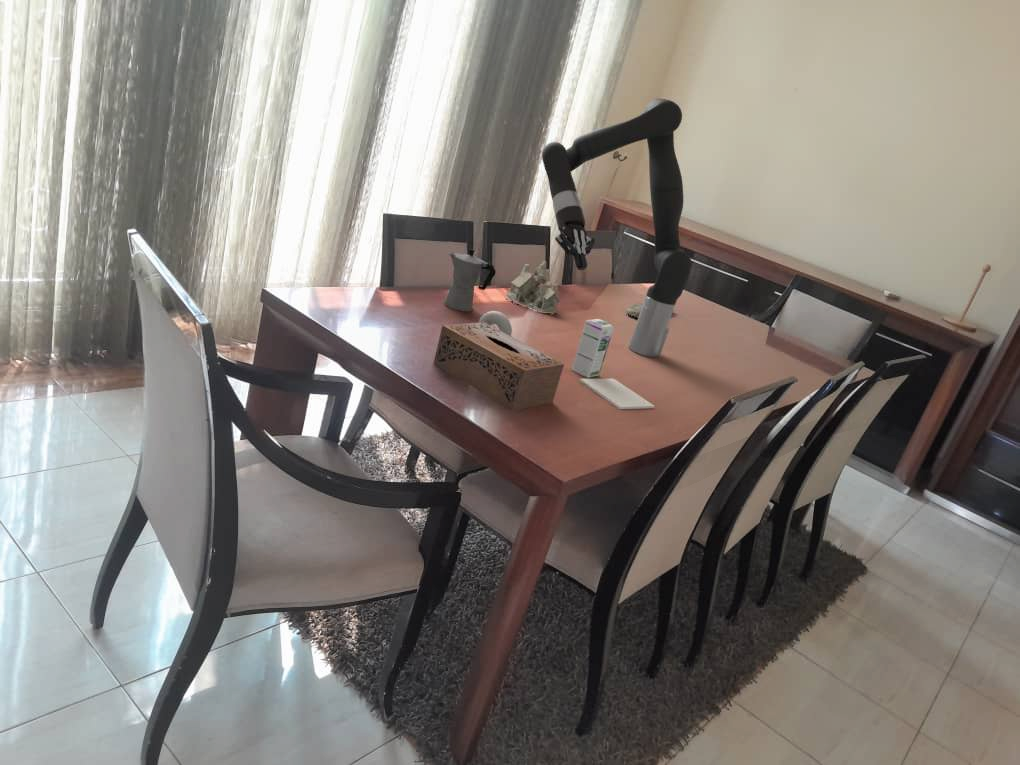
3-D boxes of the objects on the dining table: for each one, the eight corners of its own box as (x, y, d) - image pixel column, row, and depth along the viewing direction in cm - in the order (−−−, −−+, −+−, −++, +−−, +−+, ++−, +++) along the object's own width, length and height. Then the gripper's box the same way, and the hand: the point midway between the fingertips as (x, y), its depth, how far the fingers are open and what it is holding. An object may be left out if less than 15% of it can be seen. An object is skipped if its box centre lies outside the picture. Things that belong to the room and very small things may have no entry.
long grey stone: (677, 318, 296) (654, 311, 301) (681, 306, 295) (658, 298, 300) (643, 322, 267) (619, 313, 272) (647, 308, 266) (623, 299, 271)
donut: (471, 341, 198) (480, 306, 194) (477, 339, 201) (487, 304, 197) (502, 355, 194) (512, 319, 190) (508, 353, 197) (518, 318, 193)
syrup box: (588, 378, 194) (605, 327, 189) (570, 369, 197) (586, 318, 192) (599, 375, 199) (615, 325, 194) (581, 367, 202) (597, 317, 197)
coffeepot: (432, 301, 222) (445, 243, 216) (445, 297, 231) (458, 241, 225) (478, 318, 219) (493, 260, 212) (489, 313, 227) (504, 256, 221)
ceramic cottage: (501, 293, 253) (515, 252, 247) (544, 302, 259) (558, 262, 254) (513, 311, 240) (528, 268, 234) (558, 320, 246) (574, 278, 241)
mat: (579, 380, 191) (580, 378, 191) (612, 380, 198) (613, 378, 198) (619, 409, 179) (620, 407, 179) (653, 408, 186) (654, 405, 186)
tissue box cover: (552, 403, 172) (564, 364, 169) (512, 412, 161) (524, 370, 158) (474, 359, 186) (483, 322, 183) (433, 364, 175) (442, 325, 172)
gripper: (558, 201, 196) (572, 260, 192) (595, 208, 204) (609, 264, 200) (541, 215, 202) (555, 272, 197) (577, 221, 210) (591, 277, 205)
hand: (582, 268), depth 199 cm, fingers closed
